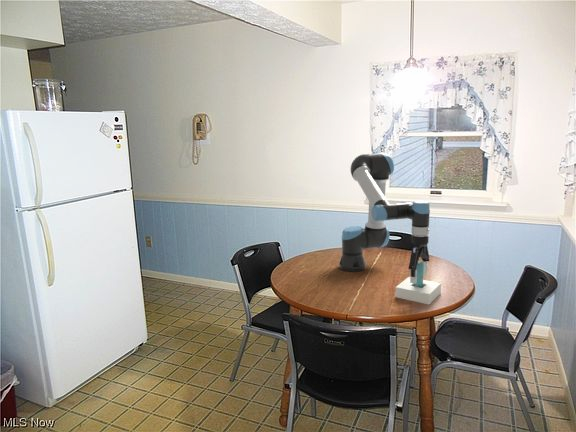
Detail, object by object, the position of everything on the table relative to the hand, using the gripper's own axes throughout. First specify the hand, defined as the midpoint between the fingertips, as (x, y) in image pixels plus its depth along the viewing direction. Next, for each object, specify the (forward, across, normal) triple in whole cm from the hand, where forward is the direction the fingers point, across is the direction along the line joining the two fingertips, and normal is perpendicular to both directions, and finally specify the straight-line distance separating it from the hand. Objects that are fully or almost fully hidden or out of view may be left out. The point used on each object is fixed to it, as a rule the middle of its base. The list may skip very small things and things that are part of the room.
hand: (418, 278), depth 200 cm
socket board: (+8, 0, 0) cm, 8 cm away
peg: (+8, 0, 0) cm, 8 cm away
